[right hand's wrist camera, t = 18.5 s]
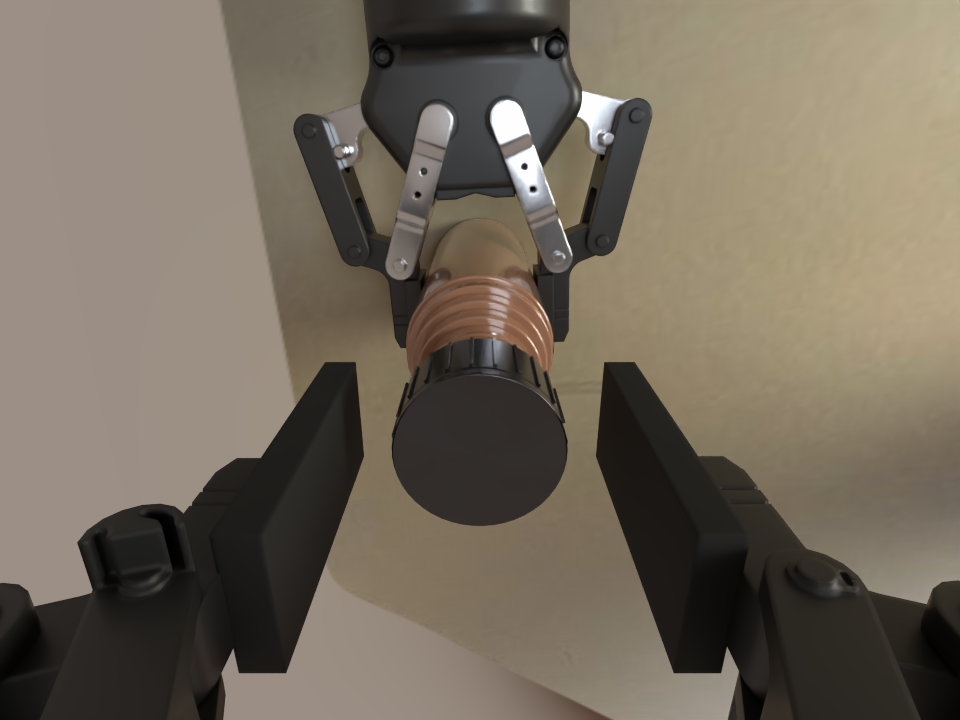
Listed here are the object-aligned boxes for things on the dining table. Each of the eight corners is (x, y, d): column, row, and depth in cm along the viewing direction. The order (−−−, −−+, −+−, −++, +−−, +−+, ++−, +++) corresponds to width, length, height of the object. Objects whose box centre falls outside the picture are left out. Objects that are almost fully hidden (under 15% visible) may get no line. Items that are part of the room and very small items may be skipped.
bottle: (539, 285, 31) (615, 482, 14) (459, 321, 32) (433, 551, 14) (502, 202, 30) (535, 304, 12) (419, 242, 30) (334, 393, 13)
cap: (444, 494, 16) (439, 550, 14) (374, 373, 14) (355, 415, 12) (579, 440, 15) (596, 491, 13) (519, 308, 14) (526, 341, 12)
